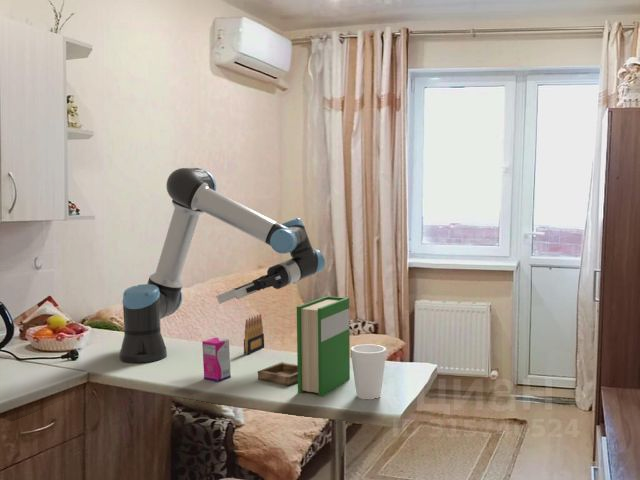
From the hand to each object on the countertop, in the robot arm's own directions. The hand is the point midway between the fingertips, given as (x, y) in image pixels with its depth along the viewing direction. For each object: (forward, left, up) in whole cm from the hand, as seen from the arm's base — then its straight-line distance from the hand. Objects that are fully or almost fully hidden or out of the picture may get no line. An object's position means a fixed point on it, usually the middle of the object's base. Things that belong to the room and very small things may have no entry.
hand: (226, 297), depth 204 cm
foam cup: (+49, +2, -23) cm, 54 cm away
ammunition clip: (-8, +22, -23) cm, 33 cm away
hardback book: (+34, +3, -23) cm, 41 cm away
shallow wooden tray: (+20, +3, -23) cm, 30 cm away
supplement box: (+3, -8, -23) cm, 24 cm away
